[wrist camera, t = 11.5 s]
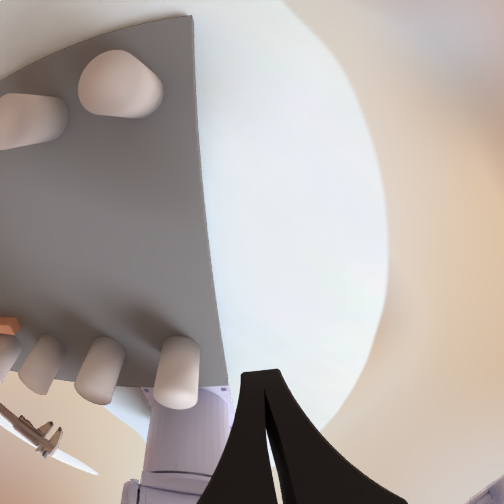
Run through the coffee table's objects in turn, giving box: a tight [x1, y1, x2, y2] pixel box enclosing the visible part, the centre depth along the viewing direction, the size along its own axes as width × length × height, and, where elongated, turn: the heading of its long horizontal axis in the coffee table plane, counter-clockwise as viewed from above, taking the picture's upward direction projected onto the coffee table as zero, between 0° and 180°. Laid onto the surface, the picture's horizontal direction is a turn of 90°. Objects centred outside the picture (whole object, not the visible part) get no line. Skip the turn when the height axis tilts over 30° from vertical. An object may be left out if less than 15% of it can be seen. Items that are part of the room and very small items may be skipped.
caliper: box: [0, 403, 63, 459], centre depth 21 cm, size 20×1×6 cm, turn 69°
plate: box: [0, 15, 228, 409], centre depth 14 cm, size 26×26×6 cm
